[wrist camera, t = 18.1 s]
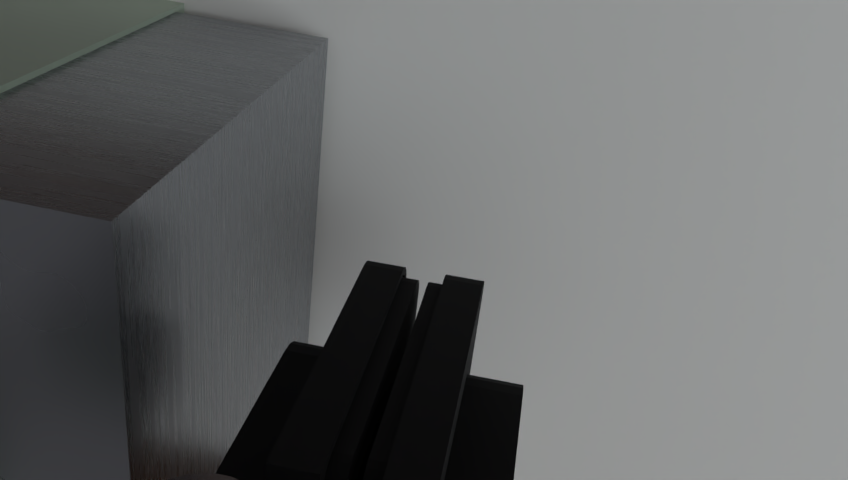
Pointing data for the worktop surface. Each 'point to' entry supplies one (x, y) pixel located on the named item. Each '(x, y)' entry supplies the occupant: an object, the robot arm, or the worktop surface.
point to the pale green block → (66, 31)
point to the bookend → (154, 246)
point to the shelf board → (605, 214)
